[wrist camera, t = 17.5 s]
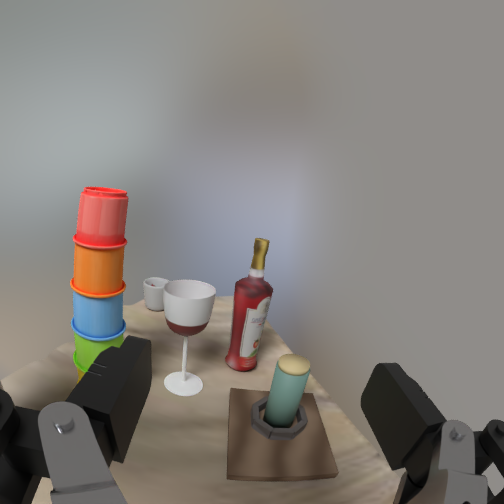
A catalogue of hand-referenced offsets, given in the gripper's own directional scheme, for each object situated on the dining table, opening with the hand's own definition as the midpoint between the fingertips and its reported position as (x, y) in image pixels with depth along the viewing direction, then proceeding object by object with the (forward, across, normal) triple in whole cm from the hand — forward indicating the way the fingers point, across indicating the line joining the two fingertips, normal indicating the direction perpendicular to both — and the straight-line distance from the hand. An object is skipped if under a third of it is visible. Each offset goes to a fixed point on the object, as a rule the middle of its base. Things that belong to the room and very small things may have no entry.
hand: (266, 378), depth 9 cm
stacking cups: (+27, +21, +31) cm, 46 cm away
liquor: (+43, -4, +31) cm, 53 cm away
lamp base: (+23, -10, +31) cm, 40 cm away
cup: (+66, +20, +32) cm, 76 cm away
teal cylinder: (+25, -10, +29) cm, 40 cm away
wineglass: (+34, +7, +31) cm, 47 cm away
